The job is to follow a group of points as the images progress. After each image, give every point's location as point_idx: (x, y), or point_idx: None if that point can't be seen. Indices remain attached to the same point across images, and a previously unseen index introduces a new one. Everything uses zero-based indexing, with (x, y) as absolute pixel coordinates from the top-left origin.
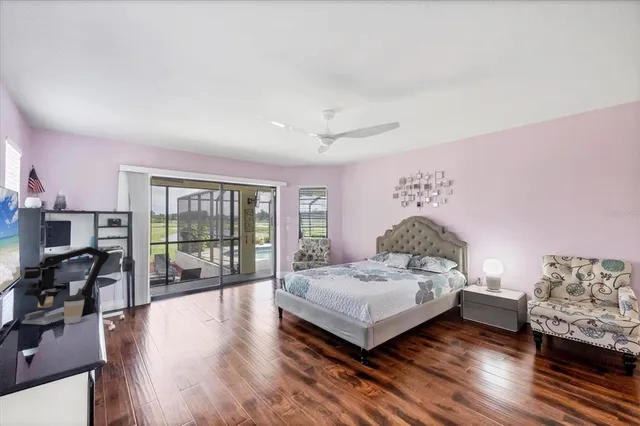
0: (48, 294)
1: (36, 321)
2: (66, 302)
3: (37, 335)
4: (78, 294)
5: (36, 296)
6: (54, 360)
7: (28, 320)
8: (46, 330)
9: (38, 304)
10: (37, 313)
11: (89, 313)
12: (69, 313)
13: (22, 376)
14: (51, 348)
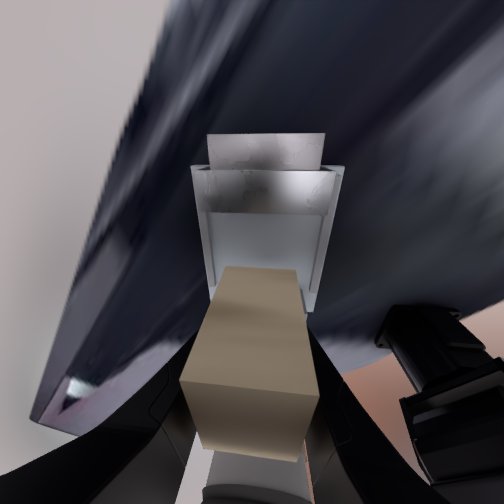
0: (340, 467)
1: (207, 262)
2: (207, 480)
3: (131, 349)
4: (497, 495)
5: (83, 444)
6: (88, 423)
7: (199, 214)
8: (168, 341)
9: (217, 292)
10: (263, 212)
11: (390, 346)
12: None
13: (46, 419)
14: (107, 404)
